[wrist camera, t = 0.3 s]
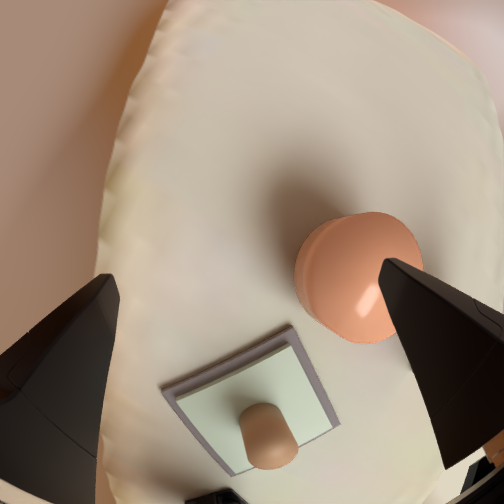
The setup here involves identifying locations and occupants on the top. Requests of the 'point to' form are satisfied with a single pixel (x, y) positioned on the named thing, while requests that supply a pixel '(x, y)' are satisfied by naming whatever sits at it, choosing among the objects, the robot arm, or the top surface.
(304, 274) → the bowl
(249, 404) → the lid
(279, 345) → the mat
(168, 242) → the top surface
